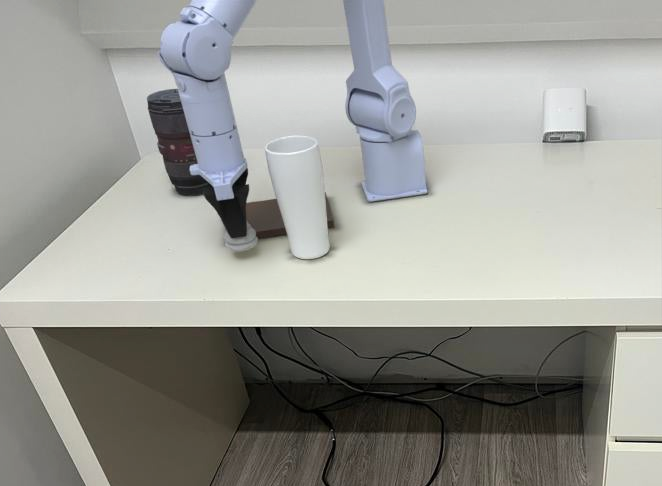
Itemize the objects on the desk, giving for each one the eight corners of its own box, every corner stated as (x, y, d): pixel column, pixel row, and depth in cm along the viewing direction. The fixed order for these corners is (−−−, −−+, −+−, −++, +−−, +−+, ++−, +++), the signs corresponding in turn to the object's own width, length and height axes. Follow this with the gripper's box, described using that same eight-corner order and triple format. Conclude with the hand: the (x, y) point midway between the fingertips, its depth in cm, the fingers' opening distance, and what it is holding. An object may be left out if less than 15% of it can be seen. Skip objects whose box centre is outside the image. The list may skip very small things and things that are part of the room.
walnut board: (326, 198, 117) (325, 191, 116) (334, 227, 108) (333, 220, 108) (229, 212, 114) (227, 205, 114) (229, 243, 106) (227, 235, 105)
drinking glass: (313, 267, 99) (292, 157, 90) (276, 256, 102) (252, 148, 93) (346, 246, 103) (329, 139, 94) (309, 237, 106) (289, 132, 97)
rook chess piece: (265, 239, 103) (252, 183, 98) (247, 254, 99) (233, 197, 94) (237, 235, 104) (223, 181, 99) (219, 250, 101) (203, 194, 96)
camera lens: (208, 199, 119) (183, 103, 110) (163, 197, 120) (134, 102, 111) (231, 179, 125) (208, 87, 116) (187, 177, 127) (161, 86, 118)
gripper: (182, 115, 97) (209, 212, 105) (176, 153, 86) (207, 258, 94) (237, 108, 98) (259, 205, 106) (239, 144, 87) (263, 249, 95)
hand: (238, 229), depth 100 cm, fingers closed on rook chess piece, 3 cm apart
